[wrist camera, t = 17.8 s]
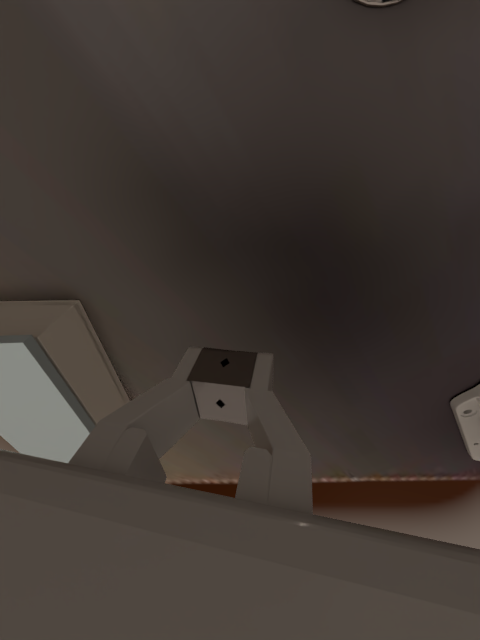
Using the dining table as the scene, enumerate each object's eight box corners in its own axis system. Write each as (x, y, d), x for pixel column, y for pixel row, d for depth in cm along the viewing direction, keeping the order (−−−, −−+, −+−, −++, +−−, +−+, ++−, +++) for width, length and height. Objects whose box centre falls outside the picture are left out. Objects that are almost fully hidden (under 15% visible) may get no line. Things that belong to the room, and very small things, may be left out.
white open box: (79, 300, 26) (37, 337, 21) (144, 429, 40) (128, 469, 35) (-8, 301, 27) (-67, 337, 22) (85, 427, 41) (62, 466, 36)
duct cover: (31, 334, 21) (22, 342, 20) (128, 473, 35) (125, 481, 35) (-87, 338, 21) (-100, 346, 21) (56, 473, 36) (51, 481, 35)
